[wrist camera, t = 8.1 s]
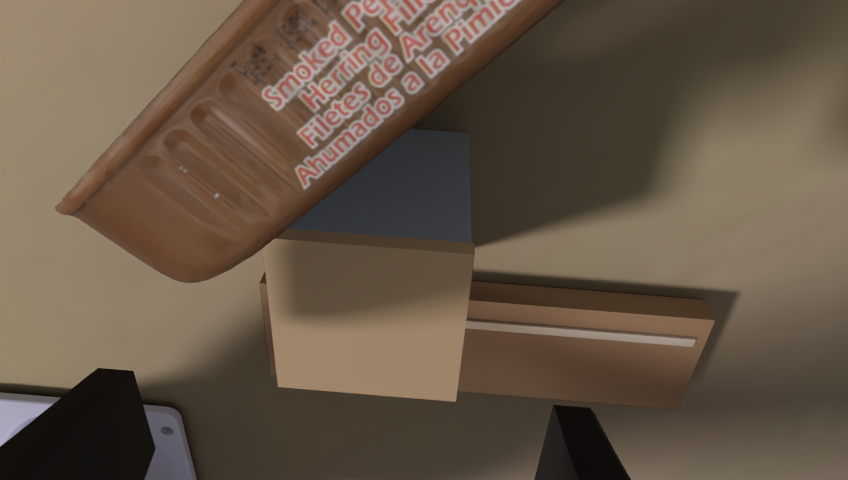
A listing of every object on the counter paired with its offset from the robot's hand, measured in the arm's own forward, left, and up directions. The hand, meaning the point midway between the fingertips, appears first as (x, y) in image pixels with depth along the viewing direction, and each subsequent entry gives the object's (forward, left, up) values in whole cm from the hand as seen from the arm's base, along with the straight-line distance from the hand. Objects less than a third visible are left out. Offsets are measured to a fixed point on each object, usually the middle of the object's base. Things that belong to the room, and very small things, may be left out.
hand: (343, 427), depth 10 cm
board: (-5, -3, -9) cm, 10 cm away
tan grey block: (0, 0, -9) cm, 9 cm away
